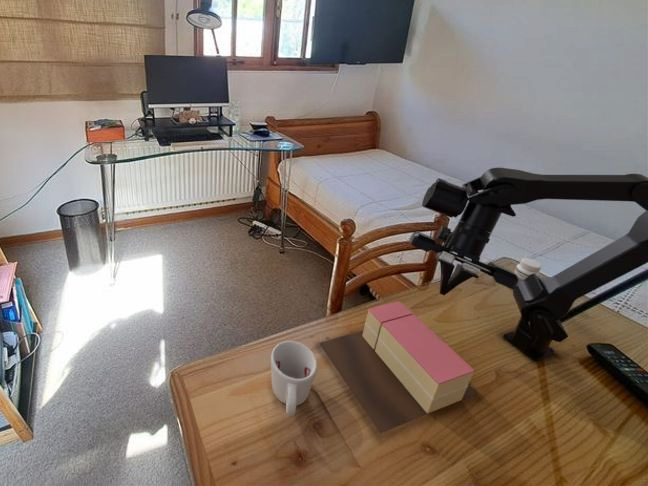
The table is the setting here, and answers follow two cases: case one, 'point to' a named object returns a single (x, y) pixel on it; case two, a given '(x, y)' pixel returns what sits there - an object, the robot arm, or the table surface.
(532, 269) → the pill bottle
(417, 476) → the table surface
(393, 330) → the cake
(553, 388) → the table surface
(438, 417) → the table surface
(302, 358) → the cup
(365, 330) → the cake slice
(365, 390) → the serving board
